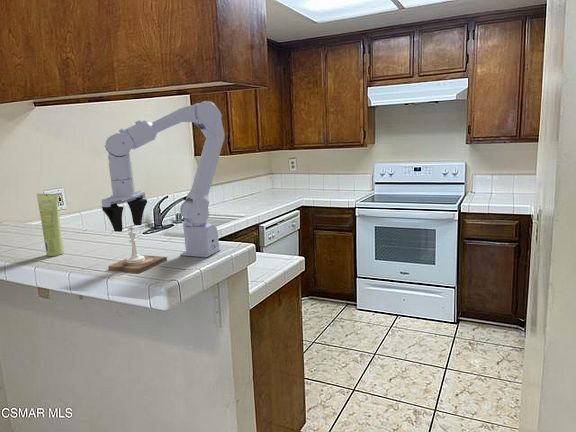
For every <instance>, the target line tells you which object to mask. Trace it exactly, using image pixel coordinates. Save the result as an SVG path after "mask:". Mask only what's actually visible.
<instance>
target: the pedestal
mask: <svg viewBox="0 0 576 432" xmlns="http://www.w3.org/2000/svg"><path fill="white" fill-rule="evenodd" d="M141 255H142V256H144V258H145V260H144V261H142V262H138V263H127V262H126V261H127V258H125V259H122V260H120V261H117V262H115V263H113V264H110V265H108V267H107V268H108V271H109V270H110V271H120V272H129V273H130V272H131V273H138V274H139V273H143V272H145V271H147V270H149V269H152V268H153V267H156V266H158V265H161V264H162V263H164V262H166V261H168V257H167V256H160V255H159V256H158V255H147V254H144V255H143V254H141Z"/></svg>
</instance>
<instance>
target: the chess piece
mask: <svg viewBox="0 0 576 432" xmlns="http://www.w3.org/2000/svg"><path fill="white" fill-rule="evenodd" d="M128 230H129V232H128V236H129V239H130V240H129V241H128V242H129V243H130V244H131V255H130V256H128V257H127V258H126V259H127V261H126V262H127V263H138V262H142V261H144V260H145V258H144V256H142V255H143V254H139V252H138V249H137V244H136V242H138V239H136V235H137V231H134V230H136V228H135V227H133V225H130V226H129V227H128Z"/></svg>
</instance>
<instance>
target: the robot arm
mask: <svg viewBox="0 0 576 432" xmlns="http://www.w3.org/2000/svg"><path fill="white" fill-rule="evenodd" d="M219 109H220V108H218V107H217V105H216V104H215V103H214V102H213V101H209V100H204V101H202V102H198V103H193V104H192V105H191V104H190V105H188V106H183V107H181V108H177V109H176V110H174V111H172V112H170V113H168V114H166V115H164V116H161V117H160V118H158V119H155V120H154V121H152V122H150V121H148V120H140V119H138V120H136V121H135V122H134V123H135V124H134V125H131V126H130V127H127V128H125V129H123V128H120V129H119V130H118V132H117V133H114V134H112V135H109V136H108V137H107V139H106V140H105V145H104V147H105V150H106V152H107V153H108V155H107V158H108V159H107V160H108V168H109V177H110V185H111V191H112V195H110V196H108V197H107V198H103V199H101V209H102V211H103V212H104V214H105V215H106V216H107V218H108V220H109V221H110V223H111V226H112V228H113V230H114V231H113V232H116V233H121V232H123V229H124V228H123V210H124V206H119V204H124V203H127V206H128V207H129V210H130V213H131V218H132V223H133V225H134V226H142V223H143V222H142V221H143V215H144V211H145V208H146V206H147V204H148V199H147V198H146V193H145V191H146V190H145V191H144V190H143V191H141V190H139V191H136V189H135V183H134V173H133V166H132V164H133V163H132V161H131V158H130V157H131V156H130V155H131V153H130V151H131V149H132V150H136V149H138V148H141V147H142V146H145V145H147V144H149V143H152V141H155V140H156V137H157V135H158V133H160V132H163V131H165V130H167V129H169V128H171V127H172V128H173V126H177V125H178V124H180V123H193V124H194V125H195V126H196V127H198V128H199V129H200V132H201V133H202V134H203V136H204V138H205V141H204V144H203V147H202V151H201V155H200V158H199V162H198V165H197V168H196V171H195V172H196V173H195V175H194V179H193V183H192V186H191V189H190V190H189V192H188V194H187V195H186V198H185V201H183V202H182V204H181V205H180V208H179V210H180V211H179V212H180V215H181V216H182V218H184V221H183V223H182V228H183V238H184V245H185V251H182V252H181V253H179V256H184V257H187V256H188V257H199V258H207V257H210V256H211V255H214V254H216V253H218V252H219V251H221V250H222V249H221V247H220V244H219V243H220V242H219V232H218V229H217V226H216V225H215V224H211V223H209V221H208V219H209V216H210V212H209V210H210V209H209V205H210V198H209V197H210V196H209V193H210V190H211V186H212V184H213V179H214V176H215V172H216V169H217V165H218V161H219V158H220V155H221V151H222V148H223V145H224V141H225V138H226V137H225V136H226V133H225V129H224V125H223V120H222V116H223V115H222V112H221V110H219Z"/></svg>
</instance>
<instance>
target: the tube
mask: <svg viewBox="0 0 576 432" xmlns="http://www.w3.org/2000/svg"><path fill="white" fill-rule="evenodd" d="M36 198H37V203H38V204H37V205H38V212H39V215H40V221H41V228H42V233H43V234H42V235H43V240H44V247H45V253H46V256H47V257H57V256H62V255H63V254H64V253H65V251H64V243H63V235H62V234H63V233H62V228H61V222H60V215H59V214H60V213H59V206H58V205H59V203H58V196H57V193H36Z"/></svg>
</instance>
